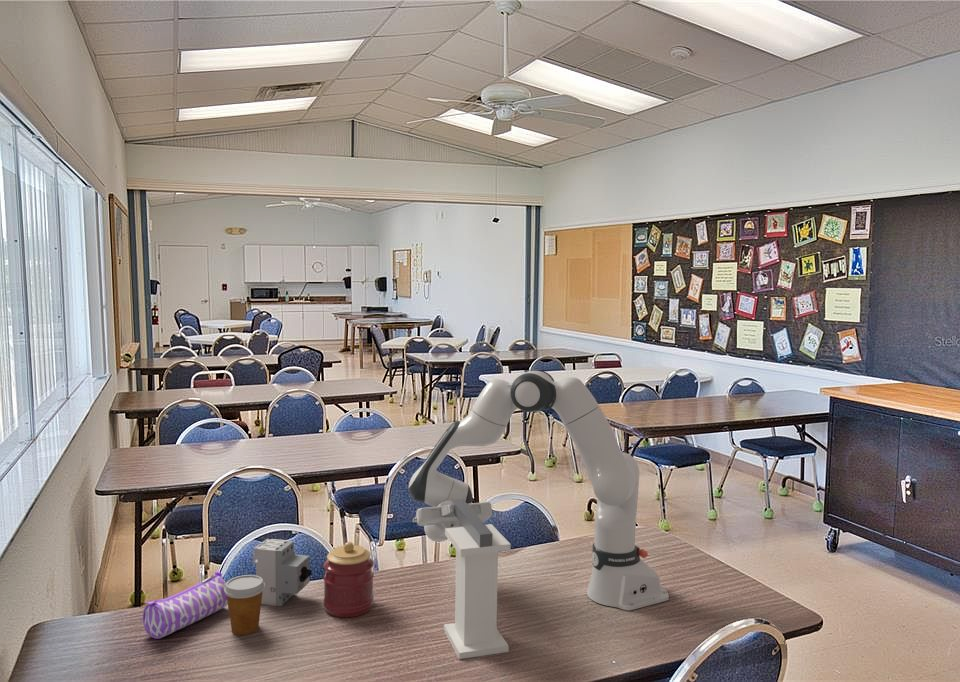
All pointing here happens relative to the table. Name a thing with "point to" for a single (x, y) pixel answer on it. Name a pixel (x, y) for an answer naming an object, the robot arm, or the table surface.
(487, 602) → the stand
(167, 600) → the pencil case
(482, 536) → the bar
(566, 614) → the table surface
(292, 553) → the circuit breaker
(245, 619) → the disposable coffee cup
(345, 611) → the canister
